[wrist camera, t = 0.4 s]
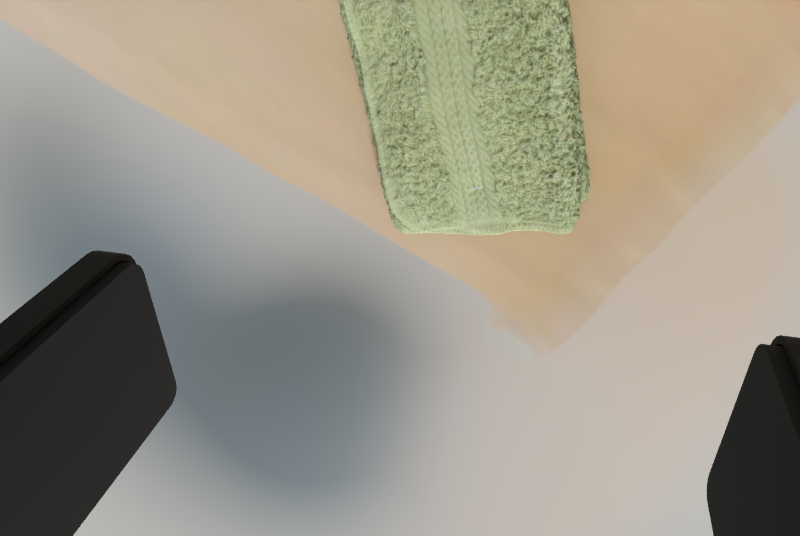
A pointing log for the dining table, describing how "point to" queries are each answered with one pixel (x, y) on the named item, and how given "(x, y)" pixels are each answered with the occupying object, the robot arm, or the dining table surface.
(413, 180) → the washcloth
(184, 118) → the dining table surface
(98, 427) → the robot arm
